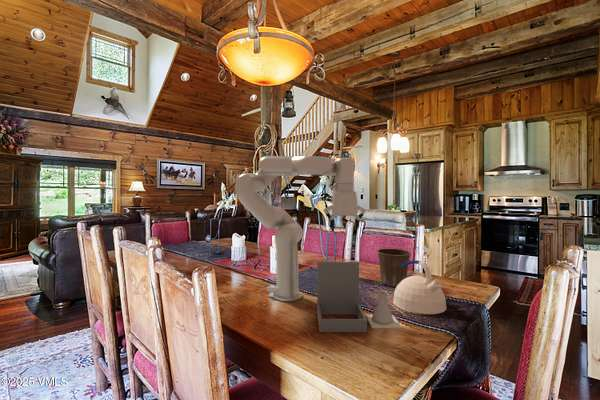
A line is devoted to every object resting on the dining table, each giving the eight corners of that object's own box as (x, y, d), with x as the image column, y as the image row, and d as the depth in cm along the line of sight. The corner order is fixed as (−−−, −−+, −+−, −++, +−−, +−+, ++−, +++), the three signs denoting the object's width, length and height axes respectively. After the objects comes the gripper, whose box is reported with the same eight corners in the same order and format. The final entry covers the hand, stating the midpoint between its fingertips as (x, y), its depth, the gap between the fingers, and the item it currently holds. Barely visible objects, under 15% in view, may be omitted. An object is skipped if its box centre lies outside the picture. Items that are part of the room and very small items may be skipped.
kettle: (418, 318, 113) (418, 269, 112) (382, 300, 132) (383, 257, 131) (459, 310, 120) (459, 264, 120) (420, 294, 140) (420, 254, 139)
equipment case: (319, 331, 102) (319, 272, 101) (317, 312, 118) (317, 261, 118) (367, 332, 102) (367, 272, 101) (358, 312, 118) (358, 261, 117)
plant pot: (415, 288, 147) (415, 254, 146) (381, 288, 147) (381, 254, 147) (404, 279, 163) (404, 248, 163) (373, 278, 163) (373, 248, 163)
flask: (381, 326, 105) (381, 297, 104) (367, 318, 111) (367, 291, 111) (397, 322, 108) (398, 294, 108) (383, 315, 114) (383, 288, 114)
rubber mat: (371, 328, 104) (371, 326, 104) (365, 316, 114) (365, 315, 114) (401, 328, 104) (401, 327, 104) (393, 316, 114) (393, 315, 114)
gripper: (324, 188, 124) (324, 230, 125) (367, 188, 124) (367, 230, 125) (323, 188, 132) (323, 228, 132) (363, 188, 132) (363, 228, 132)
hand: (344, 229), depth 129 cm, fingers open, 9 cm apart
